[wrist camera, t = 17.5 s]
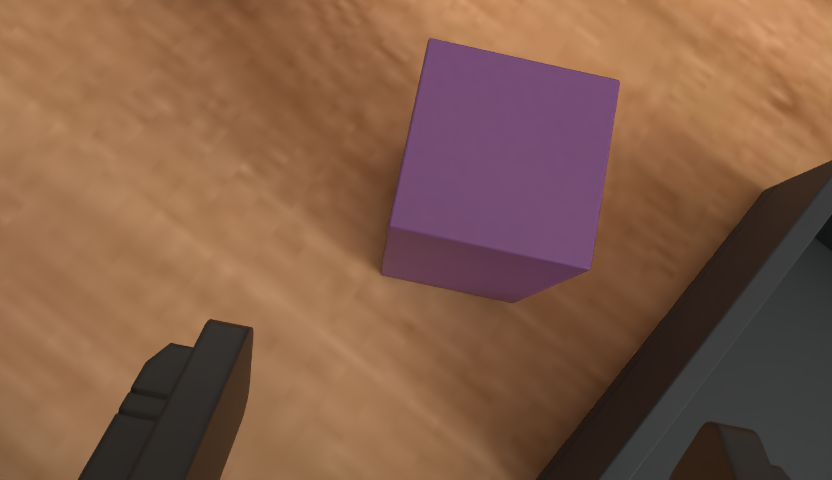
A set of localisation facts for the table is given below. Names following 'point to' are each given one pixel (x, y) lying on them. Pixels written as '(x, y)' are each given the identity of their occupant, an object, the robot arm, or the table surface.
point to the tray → (731, 353)
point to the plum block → (499, 174)
